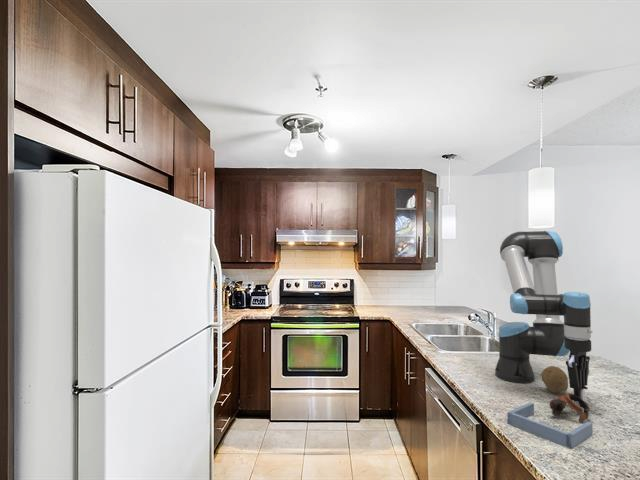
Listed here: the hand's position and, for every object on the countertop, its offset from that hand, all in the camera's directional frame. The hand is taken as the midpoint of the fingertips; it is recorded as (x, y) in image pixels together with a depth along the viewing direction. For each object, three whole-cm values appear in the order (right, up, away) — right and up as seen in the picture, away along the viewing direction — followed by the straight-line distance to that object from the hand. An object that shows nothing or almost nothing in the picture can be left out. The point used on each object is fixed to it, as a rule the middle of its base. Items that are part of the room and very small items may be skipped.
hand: (579, 408), depth 124 cm
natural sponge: (+3, -2, +18) cm, 18 cm away
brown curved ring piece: (-6, -2, -3) cm, 7 cm away
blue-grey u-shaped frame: (-18, -1, -12) cm, 21 cm away
